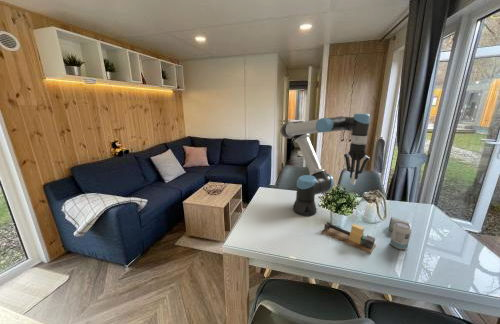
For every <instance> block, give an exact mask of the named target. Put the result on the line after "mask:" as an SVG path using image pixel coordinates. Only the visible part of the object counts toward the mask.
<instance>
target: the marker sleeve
mask: <svg viewBox="0 0 500 324" xmlns="http://www.w3.org/2000/svg"><path fill="white" fill-rule="evenodd" d="M364 231H365V227H364V226H361V225H359V224H356V223H352V225H351V228H350V231H349V232H350V237H349V240H350V241H353V242H355V243H357V244H360V243H361V237H363V236H365V233H364Z"/></svg>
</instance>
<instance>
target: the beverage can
mask: <svg viewBox="0 0 500 324" xmlns="http://www.w3.org/2000/svg"><path fill="white" fill-rule="evenodd" d="M411 234H412V229H411V225H410V224H409V225H408V224H406V223H404V222H396V224H394V226H393V231H391V237H390V244H391V246H393V247H394V248H395V249H398V250H406V249H407V248H408V246H409V244H410V243H409V242H410V237H411Z"/></svg>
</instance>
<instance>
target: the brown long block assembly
mask: <svg viewBox="0 0 500 324" xmlns="http://www.w3.org/2000/svg"><path fill="white" fill-rule="evenodd" d="M350 232H351V231H348V230H345V229H344V228H341V227H339V226H336V225H334V224H332V222H329V221H327V222H326V223H325V224H324V228H323V230H322V232H321V233H322V234H324V235H327V236H329V237H331V238H332V239H335V240H338V241H339V242H342V243H344V244H346V245H348V246H350V247H353V248H354V249H357V250H360V251H362V252H364V253H366V254H369V255H371V254H372V253H373V251H374V250H375V248H376V244H377V243H375V241H376V237H374V236H370V235H368V234H367V235H363V237H361V243H360V244H357V243H355V242H353V241H350V240H349V237H350Z"/></svg>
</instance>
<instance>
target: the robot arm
mask: <svg viewBox="0 0 500 324" xmlns="http://www.w3.org/2000/svg"><path fill="white" fill-rule="evenodd" d="M370 120H371V116H370V114H369V113H354V114H353V116H342V115H341V116H336V117H335V116H334V117H322V118H319V119H313V120H308V121H306V120H305V121H303V120H299V121H289V122H285V123H283V124H282V125H281V127H280V135H281V136H282V137H283V138H286V139H294V143H297V144H298V146H299V149H300V152H301V154H302V156H303V159H304V161H305V164H306V167H307V169H308V171H309V174H307V175H306V174H304V175H301V176H299V177H297V180H296V194H295V195H296V197H295V201H294V202H293V205H292V211H293V212H294V213H295V214H297V215H299V216H303V217H311V216H315V215H316V214H317V210H318V209H317V205H316V202H315V201H316V200H315V195H319V194H322V193H326V192H328V191H331V190H332V189H333V188H334V185H335V180H334V178H333V175H331V174H330V173H327V170H326V169H324V168H323V167H322V165H321V163H320V160H319V158H318V156H317V153H316V151H315V148H314V146H313V145H312V142H311V139H310V138H311V134H319V133H330V132H338V131H339V132H340V131H345V132H346V131H347V132H351V137H350V144H349V150H348V153H344V154H343V157H344V158H345V165H346V171H347V172H349V173H350V174H349V179H351V181H350V185H352V186H354V185H356V183H357V182H356V181H357V180H358V179H359V174H360V175H361V174H362V173H363V172H364V170H365V168H366V165H367V163H368V162H369V160H370V159H371V157H370V156H368V155H367V154H366V149H367V142H368V135H369V134H368V133H369V126H370V123H371V122H370ZM350 159H351V161H350ZM363 159H364V160H363ZM362 160H363V162H361V161H362ZM361 163H362V164H361ZM332 187H333V188H332ZM331 188H332V189H331ZM330 189H331V190H330Z"/></svg>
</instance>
